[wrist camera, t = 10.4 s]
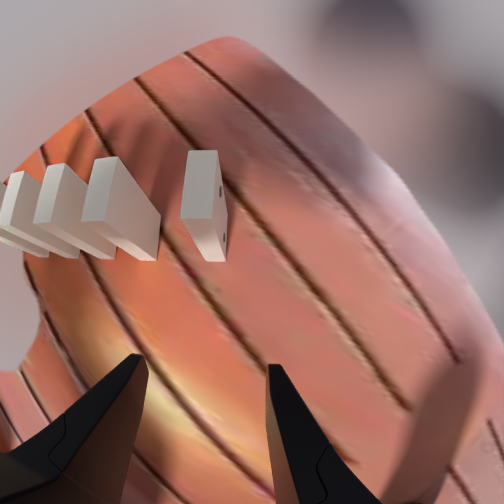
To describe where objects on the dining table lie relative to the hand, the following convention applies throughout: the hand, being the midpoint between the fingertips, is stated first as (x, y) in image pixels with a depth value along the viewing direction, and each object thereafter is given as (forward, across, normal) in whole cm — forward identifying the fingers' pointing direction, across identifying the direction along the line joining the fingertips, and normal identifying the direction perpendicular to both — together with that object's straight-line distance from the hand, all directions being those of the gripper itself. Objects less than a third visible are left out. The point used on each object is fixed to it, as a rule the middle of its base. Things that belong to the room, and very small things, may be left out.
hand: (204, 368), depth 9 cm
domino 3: (+16, +11, +3) cm, 20 cm away
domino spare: (+16, +2, +2) cm, 16 cm away
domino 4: (+16, +15, +3) cm, 22 cm away
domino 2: (+16, +7, +3) cm, 18 cm away
